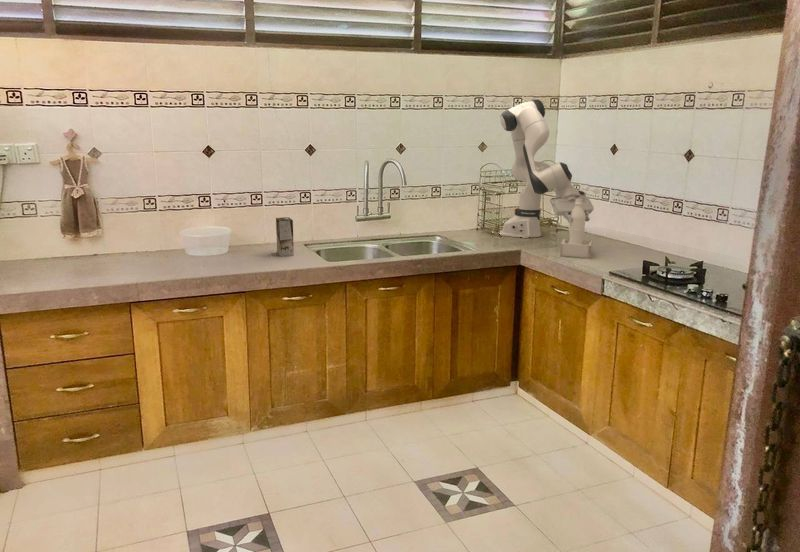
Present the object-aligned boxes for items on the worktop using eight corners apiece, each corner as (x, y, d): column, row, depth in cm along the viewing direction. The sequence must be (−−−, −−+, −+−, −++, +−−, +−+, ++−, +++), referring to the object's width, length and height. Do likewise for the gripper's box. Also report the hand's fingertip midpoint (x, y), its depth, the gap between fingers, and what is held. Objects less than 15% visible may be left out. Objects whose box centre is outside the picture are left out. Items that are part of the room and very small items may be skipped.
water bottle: (583, 252, 298) (587, 198, 292) (582, 255, 292) (587, 200, 285) (567, 250, 300) (571, 197, 294) (565, 253, 294) (570, 199, 288)
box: (560, 256, 292) (561, 243, 291) (562, 250, 304) (563, 238, 303) (589, 258, 288) (590, 245, 287) (591, 253, 300) (592, 240, 299)
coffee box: (294, 255, 288) (293, 220, 284) (280, 256, 286) (278, 220, 282) (290, 251, 296) (289, 216, 292) (276, 252, 294) (275, 217, 290)
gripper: (552, 193, 291) (564, 218, 285) (588, 192, 299) (600, 215, 293) (545, 202, 296) (557, 226, 290) (581, 200, 304) (593, 224, 298)
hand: (579, 221), depth 292 cm, fingers open, 8 cm apart
